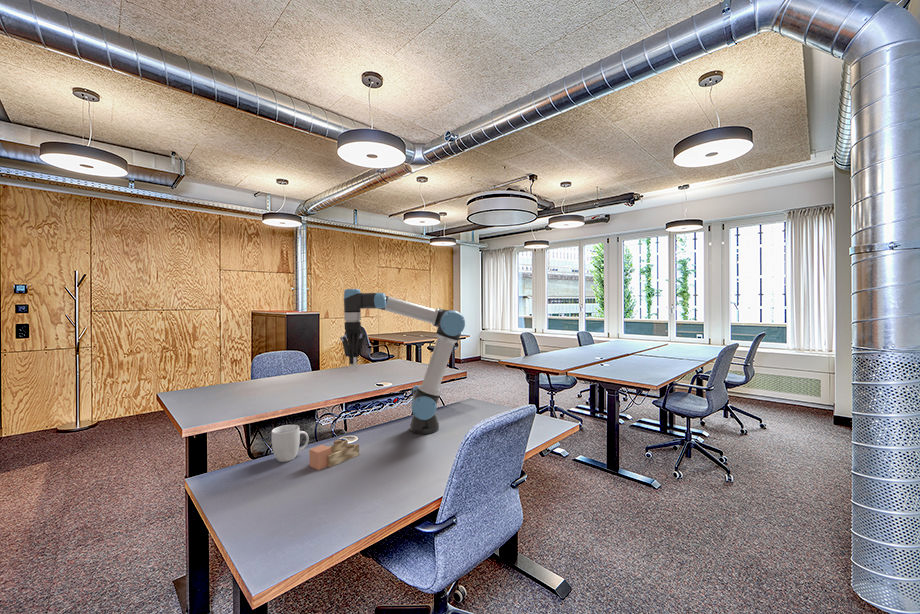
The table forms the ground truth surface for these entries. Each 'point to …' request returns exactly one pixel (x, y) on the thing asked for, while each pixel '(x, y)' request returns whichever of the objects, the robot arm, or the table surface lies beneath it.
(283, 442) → the mug
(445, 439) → the table surface
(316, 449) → the block
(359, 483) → the table surface
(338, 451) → the tan boxy piece
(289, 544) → the table surface
